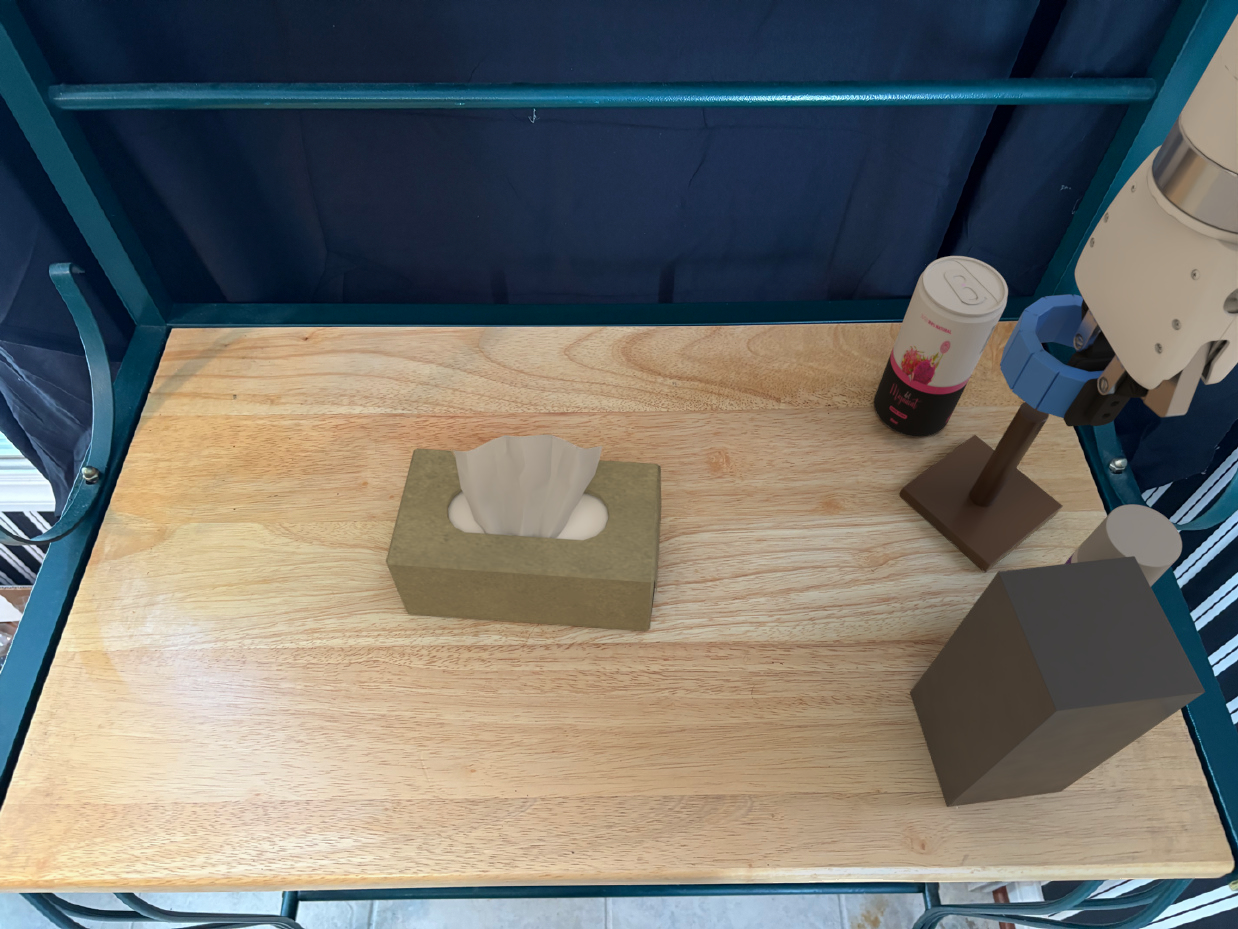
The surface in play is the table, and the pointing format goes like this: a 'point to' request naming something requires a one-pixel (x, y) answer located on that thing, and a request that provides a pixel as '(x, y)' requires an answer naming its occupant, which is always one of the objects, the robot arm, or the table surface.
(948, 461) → the stand
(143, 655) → the table surface
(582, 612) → the tissue box
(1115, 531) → the container
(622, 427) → the table surface
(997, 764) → the pedestal
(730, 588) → the table surface
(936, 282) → the beverage can
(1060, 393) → the ring
